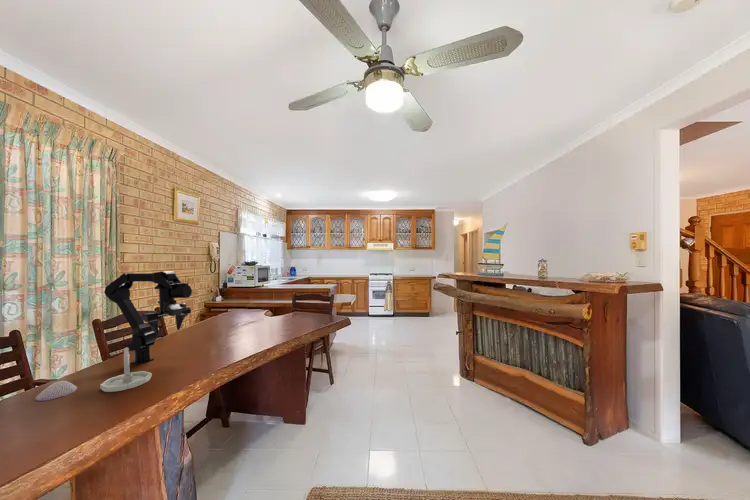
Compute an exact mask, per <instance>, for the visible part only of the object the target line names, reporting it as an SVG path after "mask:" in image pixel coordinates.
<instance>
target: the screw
mask: <svg viewBox="0 0 750 500" xmlns="http://www.w3.org/2000/svg"><path fill="white" fill-rule="evenodd" d="M129 351H130V350H129V348H128V346H127V347H124V348H123V374H124V375H122V374H120V375H121V376H120V377H119V379H121V380H123V383H127V382H130V381H131V380H132V377H134V376H135V374H134V373H132V372H131V361H130V360H131V359H130V357H131V356H130V353H129Z"/></svg>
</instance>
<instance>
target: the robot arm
mask: <svg viewBox="0 0 750 500" xmlns="http://www.w3.org/2000/svg"><path fill="white" fill-rule="evenodd" d="M134 282H150V283H153V284H157V285H155V287H154V288H153V289H154V290H158V299H159V300H158V301H157V304H158V305H159V309H158V310H157V312H146V313H142V314H140V313H139V311H138V310H137V309H136V307H135V305H134V304H133V301H132V300H131V290H130V289H131V288H132V287H133V284H134ZM103 291H104V295H105V296H106V297H107V299H109V301H111V302H113V303H115V304H116V305H117V307H118V308H119V309H120V310H119V311H120V312H121V313H122V315H123V316H124V318H125V319H126V321H127V322H128V325H129V326H130V328H131V329H132V332H131V334H132V335H131V337H132V341H131V342H130V343H129V344H128V346H127V348H128V350H129V351H131V352H133V353H134V355H133V356H134V358H133V359H134V360H131V361H130V363H132V364H135V365H140V364H143V363H147V362H150V361H153V360H154V357H151V347H152V346H154V345H155V342H156V341H157V337H158V335H159V325H158V323H159V322H160V320H159V318H162V317H167V316H170V317H175V325H176V326H175V327H176V330H177V331H180V329H181V326H182V324H183V321H184V319H185V318H186V317H187V316H189V314H191V313H192V309H191V307H189V306H187V303H185V302H182V303H179V304H178V303H177V300H176V299H189V298H190V297H191V296H192V292H193V289H192V288H191V286H190V285H189V282H182V281H181V280H180V278H178V276H177V274H176V272H175V271H174V270H165V271H164V270H163V271H161V270H160V271H156V272H149V273H148V272H147V273H146V272H144V273H143V272H140V273H139V272H124V273H122V274H120V276H119V277H118V278H116V279H114V280H113V281H111V282H110V283H109V284H108V285H107V286H106V287H105V288H104V290H103ZM145 323H147V324H145Z"/></svg>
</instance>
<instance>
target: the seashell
mask: <svg viewBox="0 0 750 500" xmlns="http://www.w3.org/2000/svg"><path fill="white" fill-rule="evenodd" d="M77 390H78V387H77V386H76V385H75V384H73V383H71V382H70V381H68V380H67V381H66V380H59V381H56V382H54V383H52V384H50V385H48V386H47V387H46V388H45V389H43V390H42V391H41V392H40V393H39V394H38V395H36V396H35V398H34V400H35V401H39V402H42V401H50V400H55V399H57V398H58V399H59V398H61V397H66V396H68V395H71V394H72V393H75V392H76V391H77Z"/></svg>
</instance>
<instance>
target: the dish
mask: <svg viewBox="0 0 750 500" xmlns="http://www.w3.org/2000/svg"><path fill="white" fill-rule="evenodd" d="M131 373H134V374H135V376H134V377H132V380H131V381H130V382H127V383H123V380H121V379H119V377H120V376H121V375H124V373H123V374H120V375H116V376H114V377H110V378H108V379H106V380H105V381H103V382H102V383H101V384H99V385H100V386H99V387H100V388H99V389H100V390H101V391H103V392H105V393H114V392H121V391H126V390H129V389H134V388H136V387H139V386H142V385H145V384H146V383H147V382H149V381H150V380H151V378H152V375H153V374H152V372H149V371H145V370H140V371H134V372H133V371H132V372H131Z"/></svg>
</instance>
